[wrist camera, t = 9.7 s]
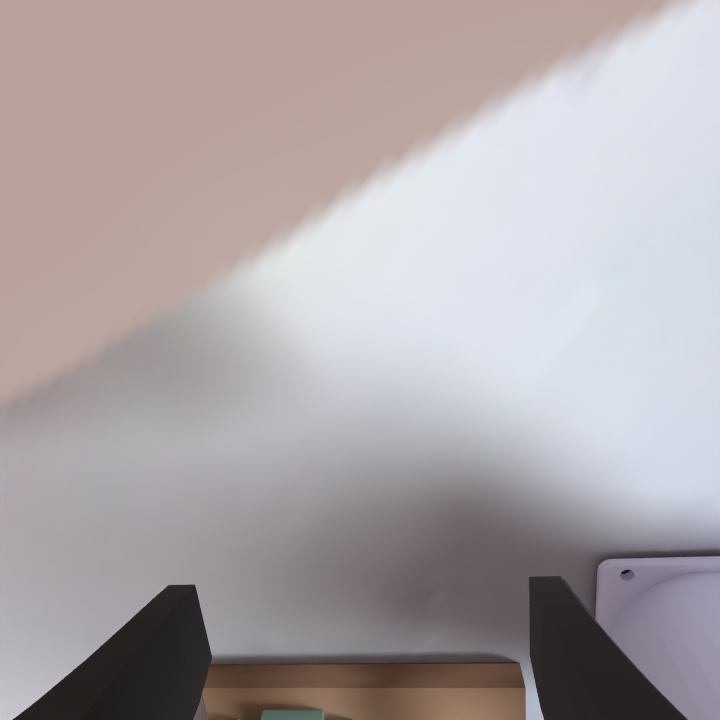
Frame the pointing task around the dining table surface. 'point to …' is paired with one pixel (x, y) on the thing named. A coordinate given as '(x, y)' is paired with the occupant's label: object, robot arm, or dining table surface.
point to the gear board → (368, 691)
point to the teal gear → (292, 715)
